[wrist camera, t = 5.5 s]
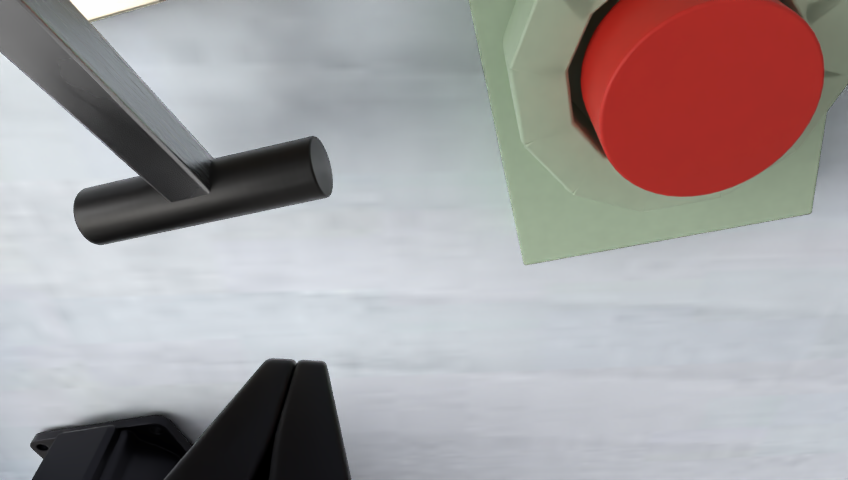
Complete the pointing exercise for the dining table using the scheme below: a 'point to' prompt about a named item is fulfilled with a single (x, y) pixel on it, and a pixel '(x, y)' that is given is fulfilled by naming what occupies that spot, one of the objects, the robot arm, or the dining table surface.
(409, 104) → the dining table surface
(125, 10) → the switch bracket
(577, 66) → the button box
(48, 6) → the switch lever
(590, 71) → the red push button
